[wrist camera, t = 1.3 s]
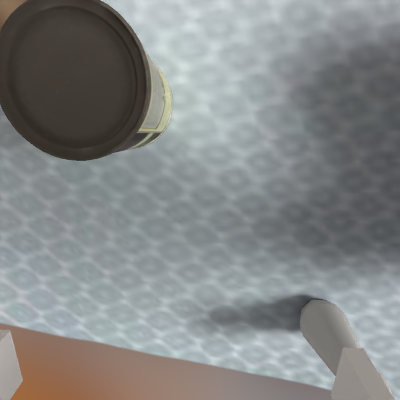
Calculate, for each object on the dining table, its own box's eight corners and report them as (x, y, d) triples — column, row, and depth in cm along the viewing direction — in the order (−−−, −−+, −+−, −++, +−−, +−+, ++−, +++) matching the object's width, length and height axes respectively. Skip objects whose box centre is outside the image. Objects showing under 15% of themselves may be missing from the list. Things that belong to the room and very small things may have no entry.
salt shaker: (296, 333, 38) (340, 432, 26) (292, 296, 37) (336, 381, 24) (339, 327, 38) (406, 424, 25) (336, 290, 37) (405, 373, 24)
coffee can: (137, 166, 33) (89, 190, 20) (66, 108, 32) (-39, 90, 18) (192, 97, 31) (182, 71, 18) (119, 31, 30) (47, -53, 16)
